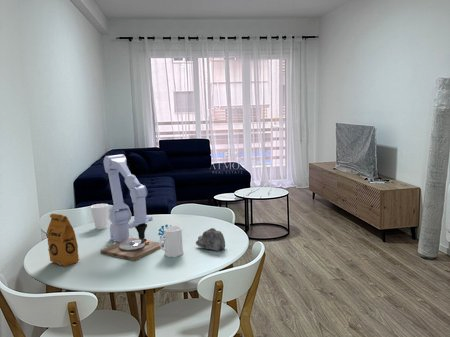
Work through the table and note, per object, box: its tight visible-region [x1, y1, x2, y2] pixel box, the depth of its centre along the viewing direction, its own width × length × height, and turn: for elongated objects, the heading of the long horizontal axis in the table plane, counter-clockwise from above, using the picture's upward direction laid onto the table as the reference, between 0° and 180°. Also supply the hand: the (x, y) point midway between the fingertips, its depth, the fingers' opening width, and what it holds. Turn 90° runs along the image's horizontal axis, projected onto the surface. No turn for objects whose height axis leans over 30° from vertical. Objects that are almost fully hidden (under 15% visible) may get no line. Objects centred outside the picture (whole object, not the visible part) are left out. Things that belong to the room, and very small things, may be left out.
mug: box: [159, 225, 184, 258], centre depth 179 cm, size 12×8×12 cm
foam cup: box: [90, 203, 109, 230], centre depth 225 cm, size 10×9×13 cm
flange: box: [119, 238, 150, 251], centre depth 188 cm, size 14×12×6 cm
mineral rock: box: [195, 227, 226, 252], centre depth 186 cm, size 13×11×10 cm
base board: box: [99, 236, 165, 262], centre depth 188 cm, size 22×20×4 cm
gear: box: [157, 224, 172, 240], centre depth 201 cm, size 11×6×10 cm
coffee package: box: [46, 213, 80, 267], centre depth 174 cm, size 10×12×22 cm
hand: (141, 238), depth 188 cm, fingers closed, pressing on flange
